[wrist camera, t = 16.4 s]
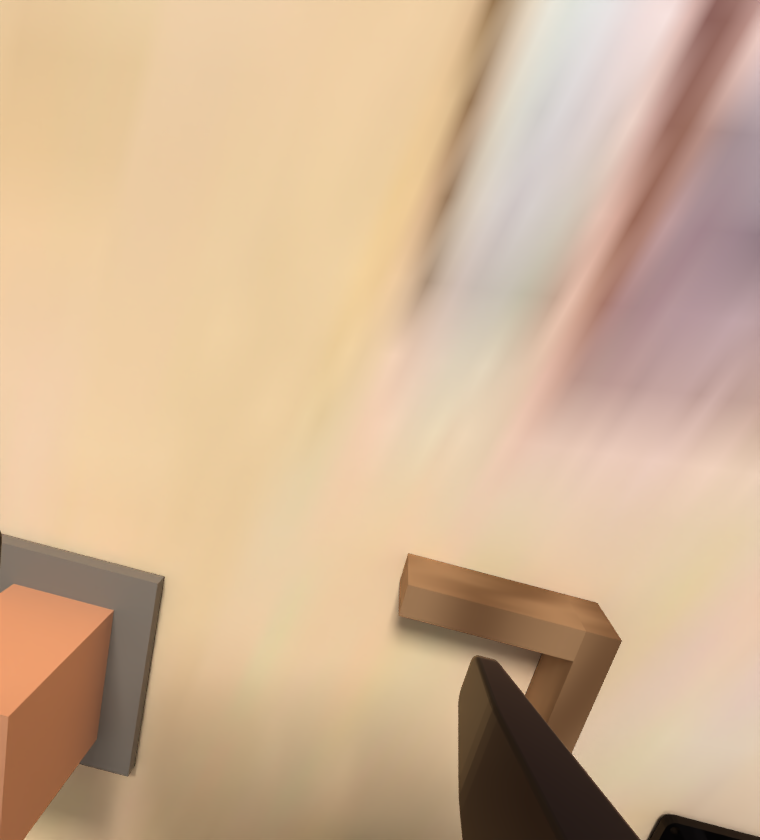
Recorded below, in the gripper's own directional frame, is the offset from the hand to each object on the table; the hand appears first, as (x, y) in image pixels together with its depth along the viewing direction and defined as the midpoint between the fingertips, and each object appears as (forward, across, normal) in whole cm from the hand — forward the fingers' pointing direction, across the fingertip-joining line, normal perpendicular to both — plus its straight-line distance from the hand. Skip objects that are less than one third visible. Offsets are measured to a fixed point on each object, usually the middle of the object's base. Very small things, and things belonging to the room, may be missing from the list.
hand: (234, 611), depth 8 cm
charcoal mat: (+12, +11, +15) cm, 22 cm away
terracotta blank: (+11, +11, +15) cm, 22 cm away
